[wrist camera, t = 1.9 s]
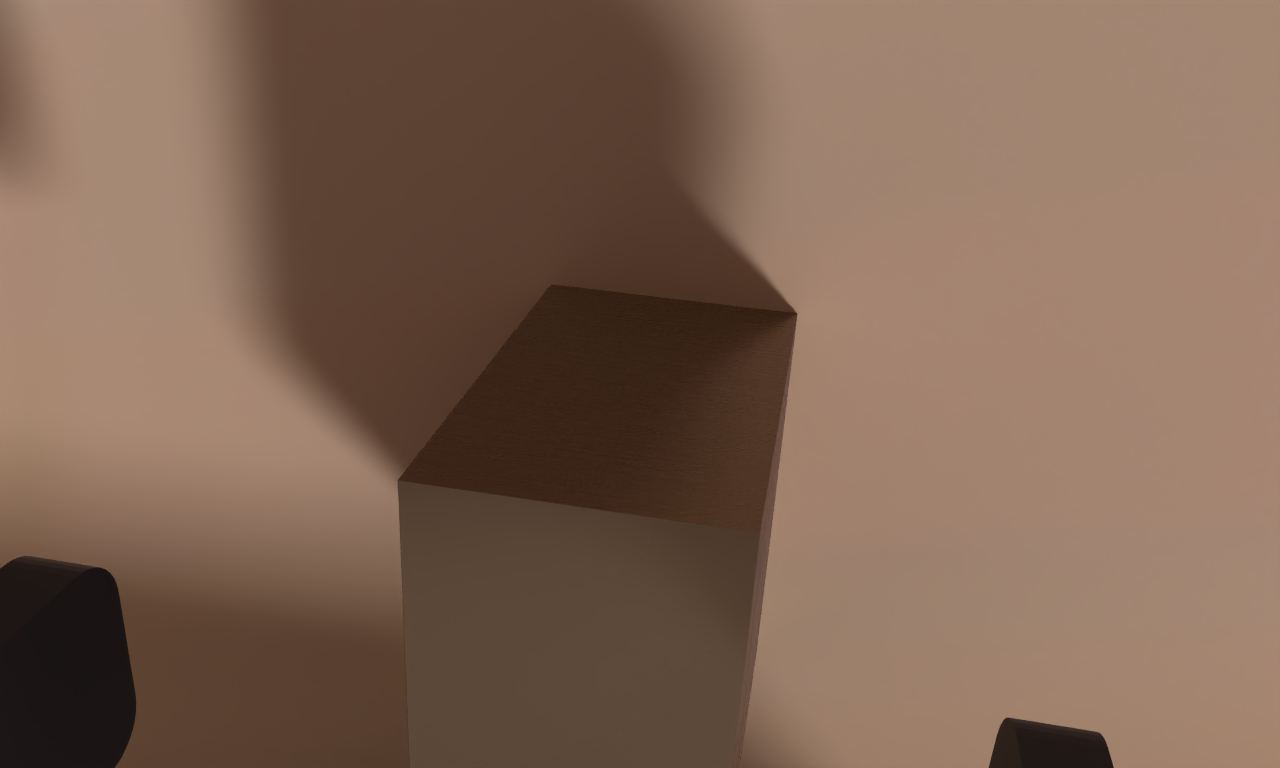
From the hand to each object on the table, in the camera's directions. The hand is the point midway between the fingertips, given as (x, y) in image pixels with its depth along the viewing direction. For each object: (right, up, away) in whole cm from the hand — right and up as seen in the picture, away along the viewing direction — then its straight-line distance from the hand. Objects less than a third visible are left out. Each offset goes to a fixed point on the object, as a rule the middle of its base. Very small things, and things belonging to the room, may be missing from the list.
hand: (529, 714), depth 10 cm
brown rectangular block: (+1, +2, +5) cm, 5 cm away
